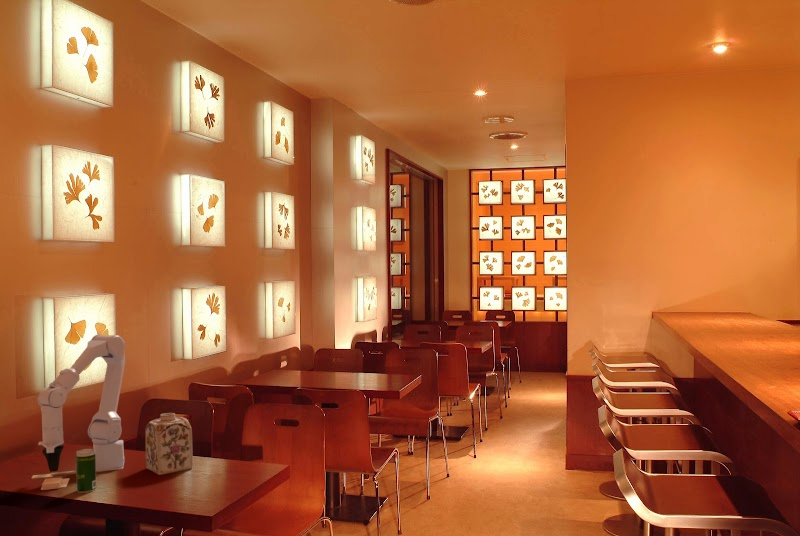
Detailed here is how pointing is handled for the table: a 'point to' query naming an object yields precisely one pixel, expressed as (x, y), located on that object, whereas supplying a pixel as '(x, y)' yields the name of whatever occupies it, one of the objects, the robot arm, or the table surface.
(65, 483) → the marble board
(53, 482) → the tile
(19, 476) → the table surface
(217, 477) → the table surface
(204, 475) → the table surface
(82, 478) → the beer can
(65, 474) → the wooden turner
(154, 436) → the decorative jar
